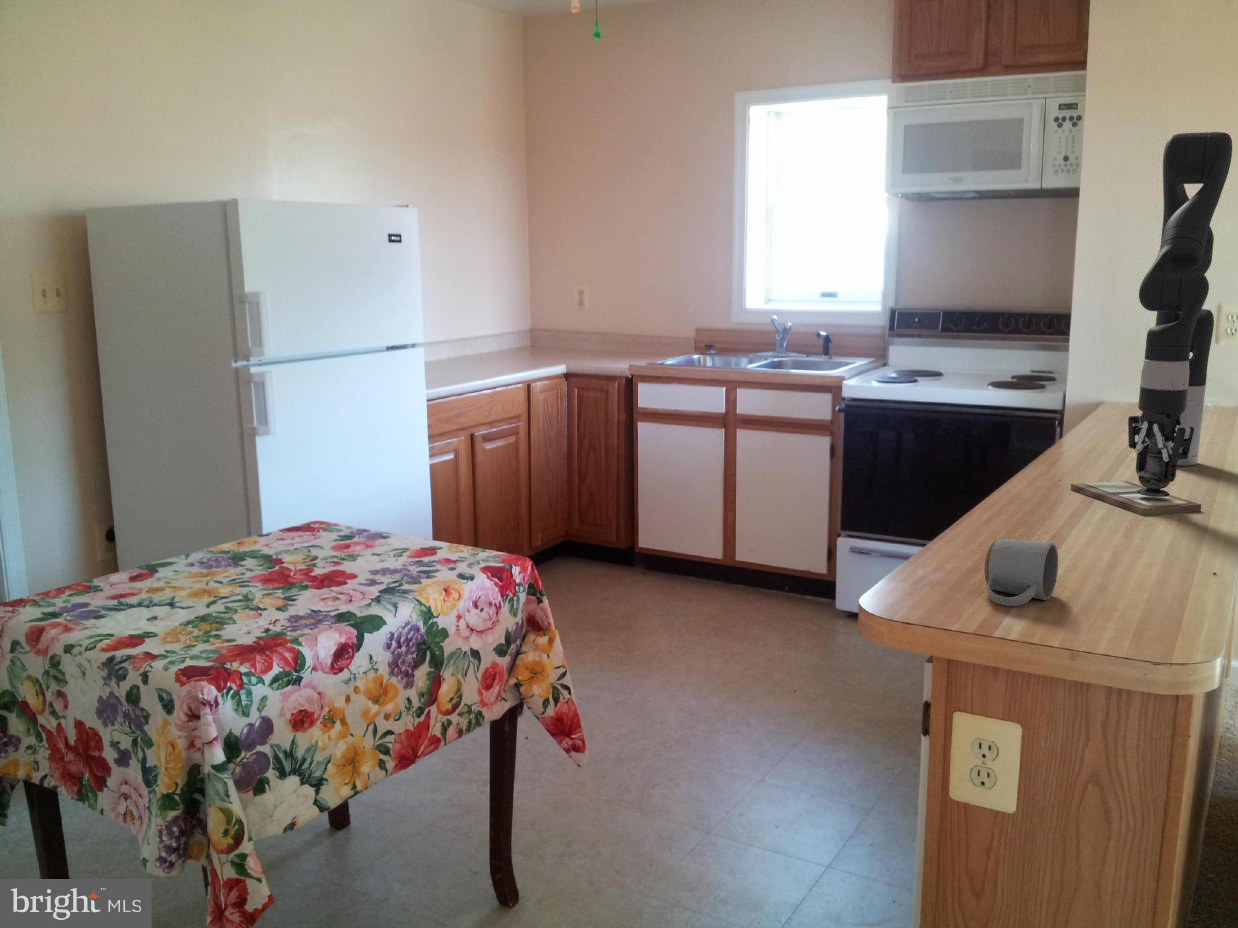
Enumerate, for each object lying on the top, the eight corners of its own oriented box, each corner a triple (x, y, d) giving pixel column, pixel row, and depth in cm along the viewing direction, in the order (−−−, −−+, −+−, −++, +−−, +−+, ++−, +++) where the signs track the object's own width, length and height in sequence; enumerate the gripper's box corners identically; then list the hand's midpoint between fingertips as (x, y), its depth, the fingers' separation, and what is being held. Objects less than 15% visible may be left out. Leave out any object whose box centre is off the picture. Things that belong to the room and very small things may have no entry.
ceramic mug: (996, 580, 146) (1000, 528, 144) (1057, 591, 141) (1061, 537, 139) (972, 602, 138) (975, 547, 136) (1035, 614, 133) (1040, 558, 131)
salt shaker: (1175, 497, 183) (1182, 431, 180) (1140, 496, 184) (1146, 430, 181) (1165, 490, 188) (1172, 426, 186) (1131, 489, 190) (1137, 425, 187)
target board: (1070, 489, 200) (1071, 482, 199) (1124, 486, 202) (1125, 479, 202) (1141, 515, 181) (1142, 507, 180) (1200, 511, 183) (1201, 503, 183)
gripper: (1213, 389, 176) (1202, 485, 179) (1153, 379, 190) (1145, 468, 193) (1175, 391, 174) (1165, 487, 178) (1118, 381, 188) (1109, 470, 192)
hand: (1154, 477), depth 186 cm, fingers closed on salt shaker, 5 cm apart
